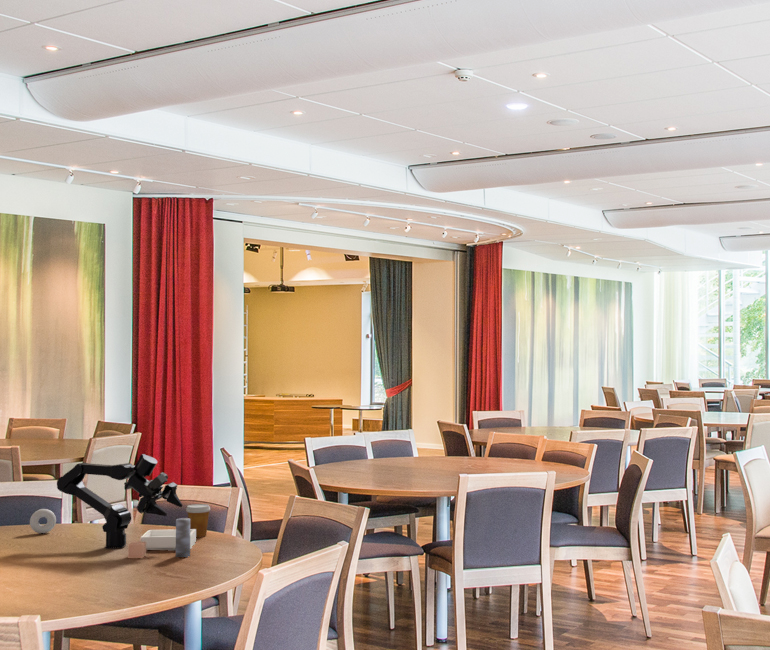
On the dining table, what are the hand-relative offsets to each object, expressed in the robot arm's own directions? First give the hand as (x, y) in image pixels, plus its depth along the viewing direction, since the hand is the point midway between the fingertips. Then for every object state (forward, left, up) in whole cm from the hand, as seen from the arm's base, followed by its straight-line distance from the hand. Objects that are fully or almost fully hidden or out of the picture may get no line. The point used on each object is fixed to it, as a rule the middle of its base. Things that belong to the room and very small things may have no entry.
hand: (174, 510), depth 310 cm
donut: (-59, +38, -15) cm, 72 cm away
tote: (-3, +8, -15) cm, 17 cm away
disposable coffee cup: (+5, +27, -15) cm, 31 cm away
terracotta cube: (-11, -9, -15) cm, 21 cm away
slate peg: (+5, -9, -15) cm, 18 cm away
